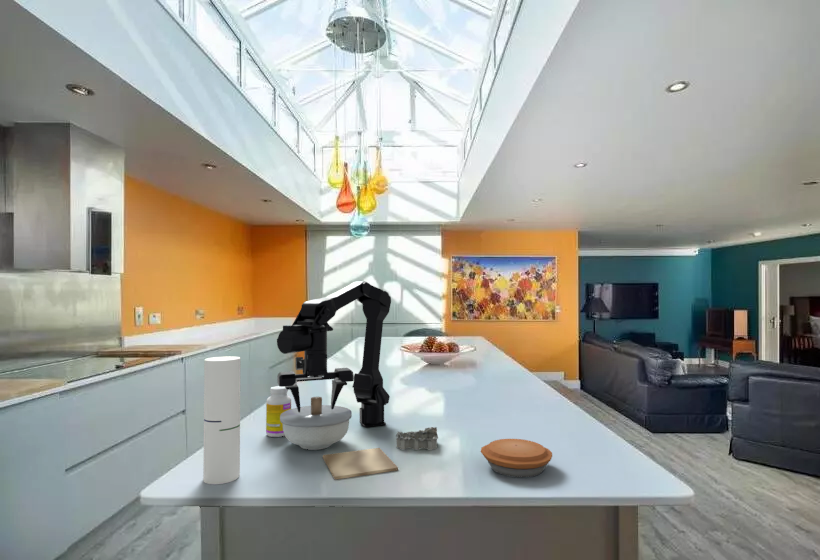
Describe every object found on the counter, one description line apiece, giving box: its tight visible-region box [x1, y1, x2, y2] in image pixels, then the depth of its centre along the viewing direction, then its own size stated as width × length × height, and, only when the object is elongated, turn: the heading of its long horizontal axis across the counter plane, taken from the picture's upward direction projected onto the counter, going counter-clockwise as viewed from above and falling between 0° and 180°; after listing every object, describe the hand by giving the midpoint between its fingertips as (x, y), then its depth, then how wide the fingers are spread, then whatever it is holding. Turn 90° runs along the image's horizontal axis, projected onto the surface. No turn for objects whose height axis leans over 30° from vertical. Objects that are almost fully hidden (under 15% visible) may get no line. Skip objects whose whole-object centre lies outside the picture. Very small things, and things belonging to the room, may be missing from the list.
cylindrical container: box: [202, 355, 241, 485], centre depth 98 cm, size 7×7×25 cm
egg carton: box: [395, 426, 439, 451], centre depth 118 cm, size 11×8×4 cm
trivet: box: [322, 447, 399, 480], centre depth 105 cm, size 14×14×1 cm
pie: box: [479, 438, 553, 478], centre depth 103 cm, size 15×16×5 cm
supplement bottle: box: [265, 385, 292, 438], centre depth 128 cm, size 7×7×13 cm
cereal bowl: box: [283, 419, 350, 451], centre depth 119 cm, size 17×17×7 cm
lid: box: [280, 396, 353, 427], centre depth 119 cm, size 18×18×5 cm
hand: (315, 410), depth 119 cm, fingers open, 8 cm apart
